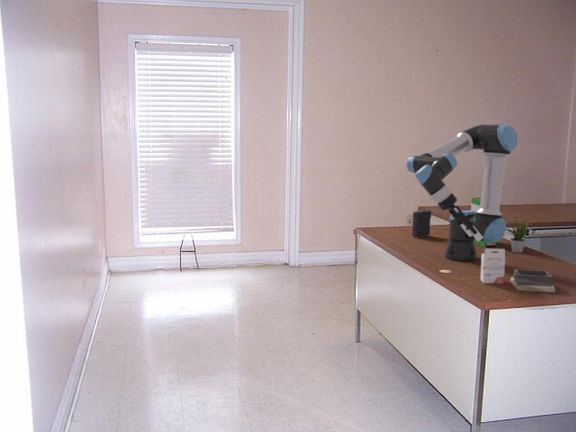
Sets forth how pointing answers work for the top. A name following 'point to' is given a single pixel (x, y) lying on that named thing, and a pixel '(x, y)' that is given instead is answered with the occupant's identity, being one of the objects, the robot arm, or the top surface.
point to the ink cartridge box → (493, 266)
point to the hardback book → (474, 207)
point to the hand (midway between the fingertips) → (476, 237)
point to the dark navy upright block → (421, 223)
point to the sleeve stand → (532, 280)
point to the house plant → (518, 237)
